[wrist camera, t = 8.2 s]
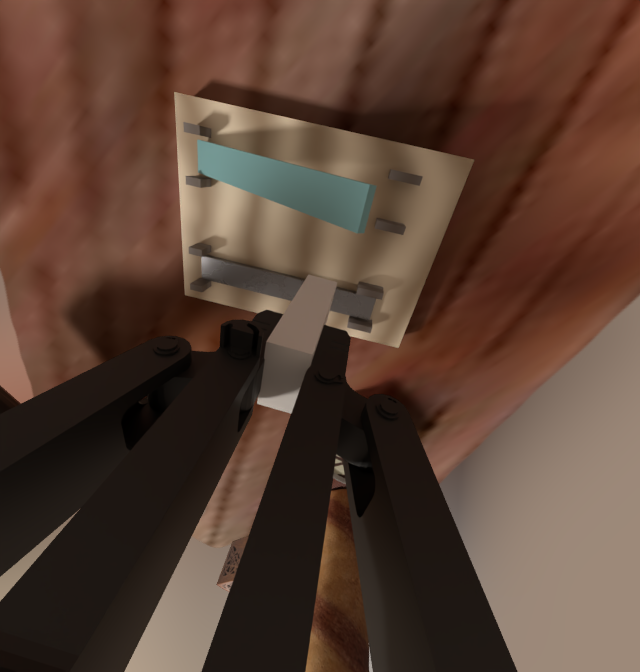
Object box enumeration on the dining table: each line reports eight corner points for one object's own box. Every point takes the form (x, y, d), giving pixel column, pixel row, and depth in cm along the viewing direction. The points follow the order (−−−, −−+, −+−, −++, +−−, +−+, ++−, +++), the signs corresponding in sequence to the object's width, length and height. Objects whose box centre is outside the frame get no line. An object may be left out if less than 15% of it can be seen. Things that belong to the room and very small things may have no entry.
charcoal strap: (204, 276, 38) (201, 278, 37) (204, 253, 36) (201, 255, 36) (369, 317, 37) (369, 320, 36) (376, 296, 35) (376, 298, 35)
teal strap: (205, 173, 32) (197, 172, 31) (204, 140, 30) (197, 139, 30) (364, 233, 20) (357, 233, 20) (376, 185, 19) (369, 184, 18)
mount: (196, 287, 42) (174, 301, 38) (190, 98, 31) (159, 86, 27) (396, 336, 42) (399, 357, 37) (465, 160, 30) (482, 158, 26)
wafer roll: (368, 519, 65) (365, 1031, 26) (321, 511, 66) (252, 989, 28) (374, 491, 60) (382, 1079, 21) (324, 483, 61) (243, 1025, 22)
